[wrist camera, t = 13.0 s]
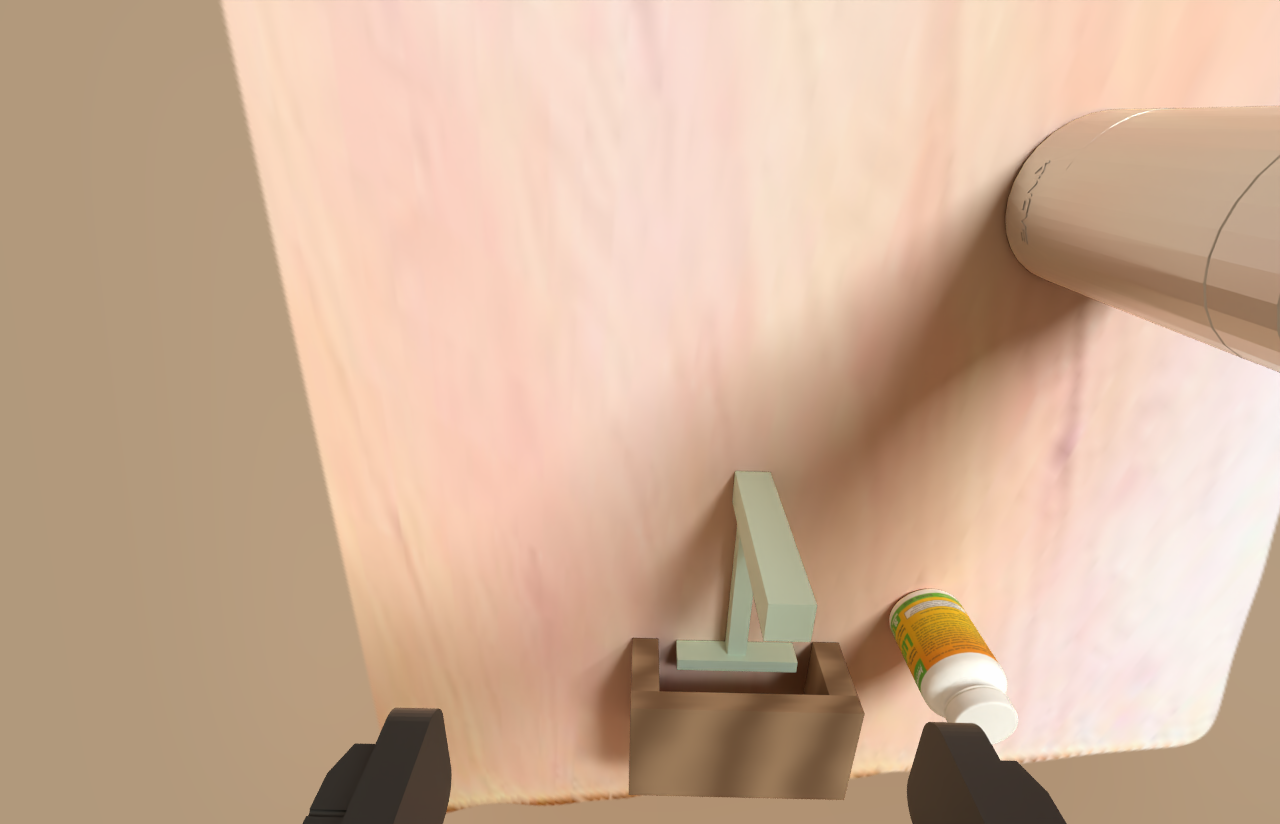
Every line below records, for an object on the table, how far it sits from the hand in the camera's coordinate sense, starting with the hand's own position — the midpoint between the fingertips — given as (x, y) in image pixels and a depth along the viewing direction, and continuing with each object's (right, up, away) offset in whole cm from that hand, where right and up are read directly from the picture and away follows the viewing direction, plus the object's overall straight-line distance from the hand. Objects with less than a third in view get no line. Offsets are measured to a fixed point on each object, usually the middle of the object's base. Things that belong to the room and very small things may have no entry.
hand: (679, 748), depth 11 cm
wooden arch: (+7, -16, +40) cm, 44 cm away
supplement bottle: (+21, -10, +38) cm, 44 cm away
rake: (+7, -6, +36) cm, 37 cm away
